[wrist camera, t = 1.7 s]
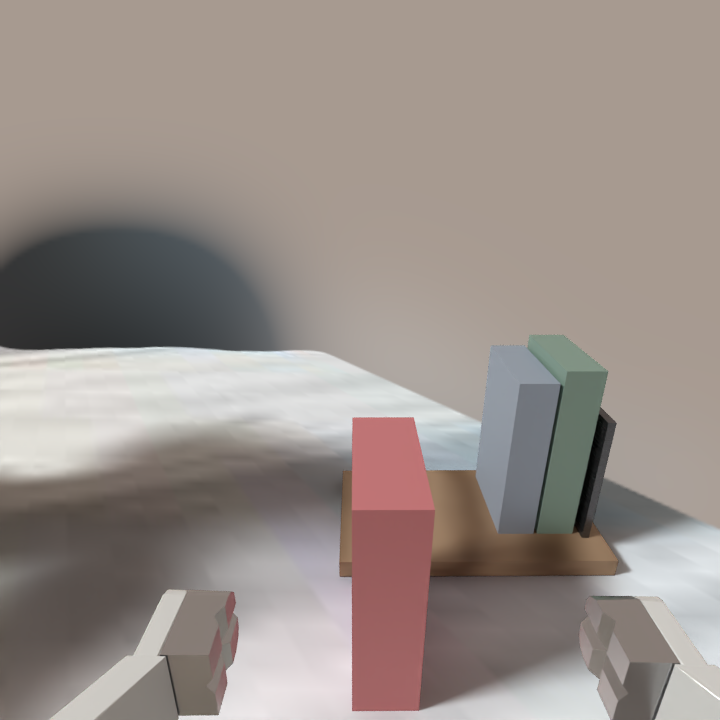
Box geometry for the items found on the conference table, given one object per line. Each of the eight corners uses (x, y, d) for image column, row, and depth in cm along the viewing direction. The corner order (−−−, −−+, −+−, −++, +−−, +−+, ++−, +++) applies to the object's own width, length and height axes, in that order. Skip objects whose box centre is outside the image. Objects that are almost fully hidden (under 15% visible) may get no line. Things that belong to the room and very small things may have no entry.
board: (339, 576, 38) (339, 562, 37) (343, 482, 49) (343, 470, 48) (614, 575, 38) (618, 560, 37) (555, 482, 49) (558, 470, 48)
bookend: (581, 537, 40) (608, 423, 35) (542, 473, 48) (560, 374, 44) (588, 537, 40) (616, 423, 35) (548, 473, 48) (566, 373, 44)
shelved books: (497, 533, 40) (521, 371, 34) (475, 476, 47) (492, 334, 42) (572, 533, 40) (608, 371, 34) (538, 476, 47) (563, 334, 42)
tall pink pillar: (352, 711, 28) (351, 510, 23) (352, 587, 37) (352, 417, 31) (418, 710, 28) (435, 509, 23) (404, 586, 37) (413, 417, 31)
